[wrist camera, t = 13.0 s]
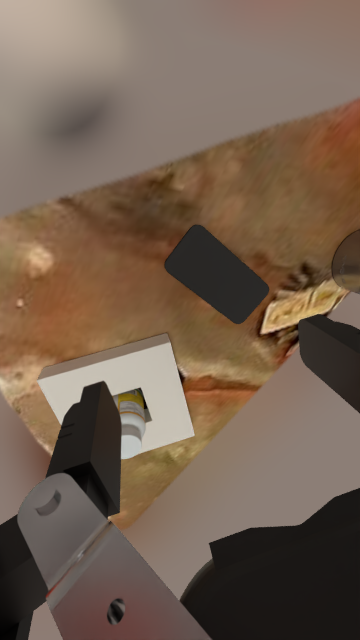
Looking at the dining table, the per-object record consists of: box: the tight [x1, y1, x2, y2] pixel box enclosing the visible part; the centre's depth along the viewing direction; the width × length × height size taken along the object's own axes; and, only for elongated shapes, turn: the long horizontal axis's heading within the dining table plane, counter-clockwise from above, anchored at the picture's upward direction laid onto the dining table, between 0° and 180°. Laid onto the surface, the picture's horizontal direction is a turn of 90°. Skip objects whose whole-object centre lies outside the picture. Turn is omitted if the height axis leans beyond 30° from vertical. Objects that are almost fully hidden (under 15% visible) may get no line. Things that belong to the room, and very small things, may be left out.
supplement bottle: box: [112, 388, 146, 459], centre depth 37 cm, size 5×5×10 cm
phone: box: [165, 225, 269, 324], centre depth 37 cm, size 7×1×15 cm
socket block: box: [37, 333, 195, 454], centre depth 40 cm, size 18×18×3 cm
